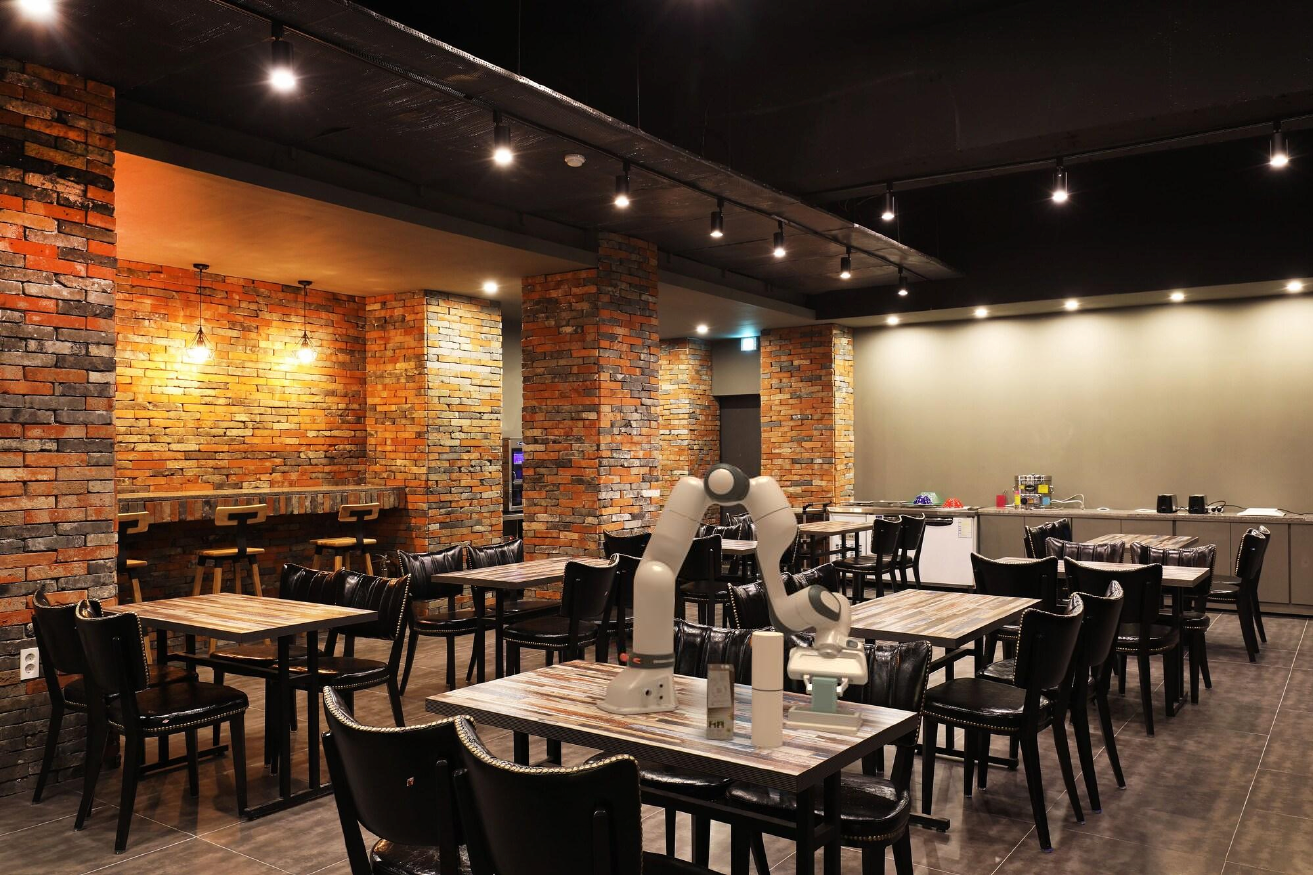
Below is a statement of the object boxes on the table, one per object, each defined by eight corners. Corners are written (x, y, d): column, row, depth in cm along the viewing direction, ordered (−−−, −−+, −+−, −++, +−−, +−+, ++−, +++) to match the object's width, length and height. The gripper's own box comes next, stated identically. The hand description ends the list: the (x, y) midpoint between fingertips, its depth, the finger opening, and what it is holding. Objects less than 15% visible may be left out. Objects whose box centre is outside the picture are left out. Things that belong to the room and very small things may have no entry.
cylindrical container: (747, 745, 215) (748, 634, 216) (755, 738, 221) (756, 630, 223) (778, 749, 212) (779, 636, 214) (785, 741, 219) (786, 632, 220)
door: (835, 715, 234) (835, 680, 234) (811, 713, 236) (811, 678, 236) (837, 713, 237) (837, 678, 237) (813, 710, 239) (813, 676, 239)
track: (855, 734, 227) (855, 719, 227) (785, 727, 233) (785, 713, 233) (862, 722, 239) (862, 708, 240) (795, 716, 245) (795, 703, 245)
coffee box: (734, 740, 219) (735, 670, 220) (706, 739, 220) (707, 669, 221) (732, 730, 228) (733, 663, 230) (705, 730, 229) (706, 663, 230)
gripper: (789, 638, 247) (781, 682, 238) (868, 643, 241) (864, 689, 231) (792, 653, 251) (784, 697, 241) (870, 658, 245) (866, 704, 235)
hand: (824, 693), depth 236 cm, fingers closed on door, 6 cm apart
